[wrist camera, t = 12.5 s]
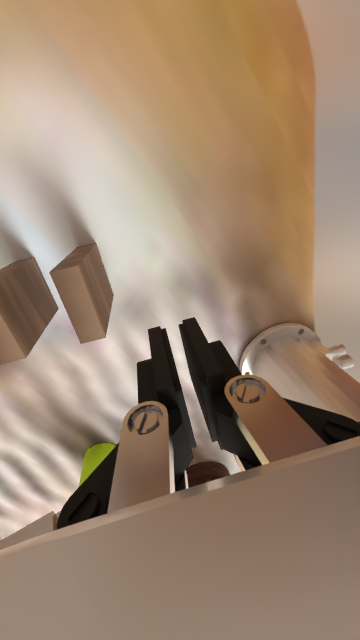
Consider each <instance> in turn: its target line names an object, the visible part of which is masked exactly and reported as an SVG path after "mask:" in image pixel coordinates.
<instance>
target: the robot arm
mask: <svg viewBox="0 0 360 640" xmlns="http://www.w3.org/2000/svg"><path fill="white" fill-rule="evenodd" d="M179 329H180V333H181V338H182V342H183V346H184V351H185V355H186V359H187V364H188V368H189V372H190V376H191V380H192V383H193V386H194V389H195V392H196V395H197V398H198V401H199V404H200V407H201V409H202V412H203V415H204V418H205V421H206V424H207V427H208V430H209V433H210V436H211V439H212V442H215V441H218V443H219V446H220V449H221V450H222V449H224V450H226V451H228V452H231V453H233V454H234V456H235V459H236V462H237V463H238V465H239V467H240V469H241V471H242V472H239V473H236V474H233V475H229V476H226V477H223V478H220V479H216V480H213V481H210V482H207V483H203V484H200V485H197V486H194V487H190V488H188V479H187V473H186V469H187V467H188V465H189V464H190V462H191V461H192V459H193V454H192V450H191V448H194V447H197V446H196V442H195V438H194V435H193V431H192V427H191V423H190V419H189V415H188V411H187V408H186V404H185V400H184V396H183V392H182V388H181V384H180V381H179V377H178V373H177V369H176V366H175V362H174V358H173V354H172V351H171V347H170V343H169V339H168V336H167V332H166V328H164V329H161V328H160V326H159V327H155V328H151V329H148V334H149V341H150V349H151V357H152V359H148V360H144V361H141V362H138V363H137V379H138V405H136V406H135V407H133V408H132V409H131V410H130V411H129V412H128V413H127V415H126V416H125V418H124V420H123V423H122V429H121V435H120V441H119V443H118V444H117V445H116V446H115V447H114V449H113V450H112V451H111V452H110V453H109V454H108V455H107V456H106V458H105V459H104V460H103V461H102V462H101V463H100V464H99V465H98V466H97V468H96V469H95V470H94V471H93V472H92V473H91V474H90V475H89V477H88V478H87V479H86V480H85V481H84V482H83V483H82V484H81V485H80V487H79V488H78V489H77V490H76V491H75V492H74V493H73V494H72V496H71V497H70V498H69V499H68V501H67V502H66V503H65V505H64V506H63V508H62V510H61V511H60V512H58V513H57V514H55V513H54V512H53V511H52V512H50V513H48V514H47V515H45V516H43V517H41V518H40V519H38V520H36V521H34V522H33V523H31V524H29V525H27V526H26V527H24V528H22V529H20V530H19V531H17V532H15V533H13V534H12V535H10V536H8V537H7V538H5V539H3V540H1V541H0V640H360V383H359V382H357V381H356V380H355V379H354V378H353V377H351V376H350V375H349V374H347V373H346V372H345V371H344V370H345V369H348V368H352V367H353V366H354V361H353V359H352V358H351V357H350V356H349V355H343V356H340V357H336V358H334V359H332V357H333V356H338V355H342V354H345V353H346V347H345V346H344V345H342V344H341V345H337V346H334V347H332V348H326V347H324V346H322V344H321V341H320V339H319V337H318V336H317V334H316V333H315V332H313V331H312V330H311V329H310V328H308V327H306V326H305V325H302V324H299V323H283V324H279V325H275V326H273V327H270V328H268V329H266V330H265V331H263V332H262V333H260V334H259V335H257V336H256V337H255V338H254V339H253V340H252V341H251V342H250V343H249V345H248V346H247V347H246V349H245V351H244V352H243V355H242V357H241V360H240V365H239V369H238V367H237V366H236V364H235V363H234V361H233V360H232V358H231V356H230V355H229V353H228V352H227V350H226V348H225V347H224V345H223V344H222V342H221V341H220V340H219V341H215V342H211V343H208V341H207V339H206V338H205V336H204V334H203V332H202V330H201V328H200V326H199V324H198V323H197V321H196V319H195V317H193V318H190V319H186V320H183V324H179Z"/></svg>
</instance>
